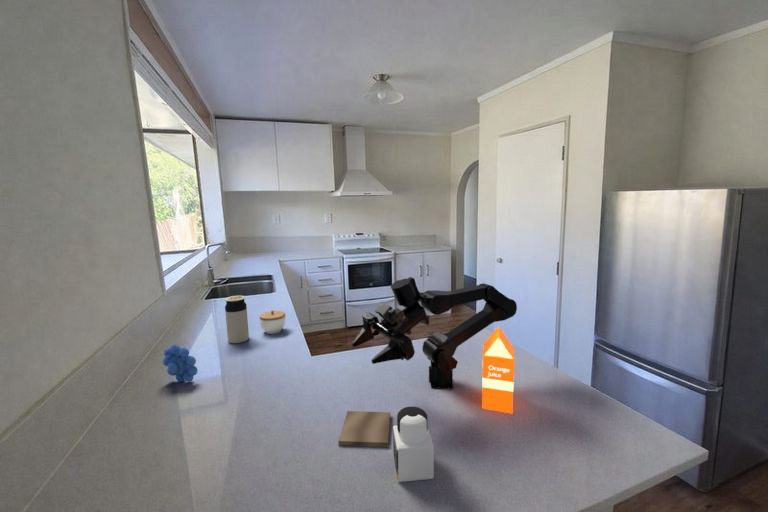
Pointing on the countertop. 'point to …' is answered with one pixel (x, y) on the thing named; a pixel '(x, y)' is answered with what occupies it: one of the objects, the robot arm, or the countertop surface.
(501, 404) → the orange juice
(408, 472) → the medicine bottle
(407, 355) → the robot arm
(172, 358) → the grapes
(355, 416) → the walnut board
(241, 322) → the travel mug
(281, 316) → the lidded jar
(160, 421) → the countertop surface
